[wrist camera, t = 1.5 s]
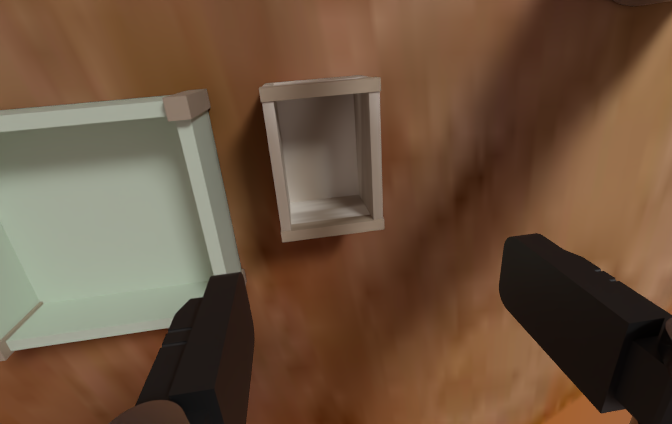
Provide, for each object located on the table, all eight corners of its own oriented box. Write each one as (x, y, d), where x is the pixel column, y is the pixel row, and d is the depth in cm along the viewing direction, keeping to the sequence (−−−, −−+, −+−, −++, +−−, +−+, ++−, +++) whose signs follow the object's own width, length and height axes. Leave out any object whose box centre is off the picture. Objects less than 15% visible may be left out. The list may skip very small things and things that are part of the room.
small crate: (360, 74, 24) (380, 77, 19) (365, 198, 28) (384, 229, 23) (264, 82, 24) (258, 88, 19) (282, 208, 27) (282, 242, 22)
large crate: (206, 88, 23) (186, 95, 19) (246, 281, 29) (238, 325, 24) (-60, 112, 22) (-160, 126, 17) (38, 310, 28) (-15, 363, 23)
